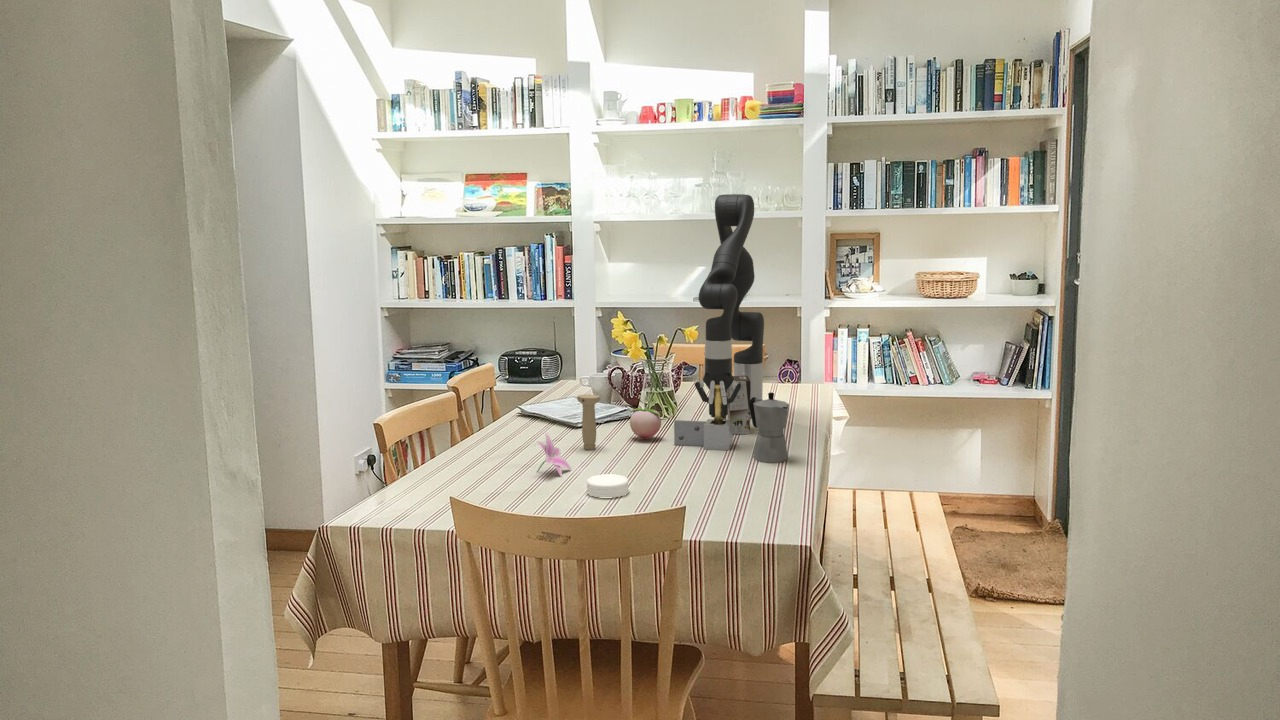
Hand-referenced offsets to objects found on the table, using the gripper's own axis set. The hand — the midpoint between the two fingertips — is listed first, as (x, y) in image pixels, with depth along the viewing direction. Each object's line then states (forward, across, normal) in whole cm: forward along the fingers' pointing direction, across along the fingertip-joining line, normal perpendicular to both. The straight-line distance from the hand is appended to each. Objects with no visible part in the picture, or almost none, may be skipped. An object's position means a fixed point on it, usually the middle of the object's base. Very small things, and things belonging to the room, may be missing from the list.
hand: (718, 416), depth 271 cm
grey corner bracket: (+9, +5, -4) cm, 11 cm away
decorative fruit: (+9, +22, -4) cm, 24 cm away
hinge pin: (+4, 0, 0) cm, 4 cm away
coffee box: (+9, -3, -20) cm, 22 cm away
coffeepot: (+9, -15, +9) cm, 20 cm away
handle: (+9, +35, +9) cm, 37 cm away
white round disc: (+9, +19, +48) cm, 52 cm away
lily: (+9, +37, +34) cm, 52 cm away
